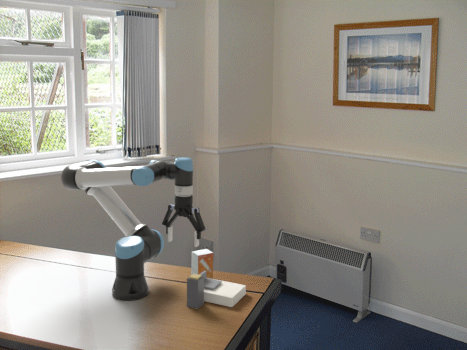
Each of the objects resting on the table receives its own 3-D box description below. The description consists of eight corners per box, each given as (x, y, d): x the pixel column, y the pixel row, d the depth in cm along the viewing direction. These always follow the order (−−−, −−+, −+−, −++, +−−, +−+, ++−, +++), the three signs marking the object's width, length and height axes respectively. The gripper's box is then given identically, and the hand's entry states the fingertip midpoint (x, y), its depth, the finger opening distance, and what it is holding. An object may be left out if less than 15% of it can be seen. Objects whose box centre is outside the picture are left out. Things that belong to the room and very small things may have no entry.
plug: (186, 306, 213) (186, 277, 210) (192, 301, 217) (193, 272, 215) (197, 309, 211) (198, 279, 208) (203, 304, 215) (203, 274, 213)
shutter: (196, 286, 222) (196, 276, 221) (204, 279, 229) (204, 270, 228) (213, 289, 219) (213, 280, 218) (221, 282, 226) (221, 273, 225)
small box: (197, 283, 236) (198, 255, 233) (190, 278, 241) (191, 251, 238) (213, 279, 240) (213, 252, 238) (206, 275, 245) (206, 248, 243)
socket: (188, 297, 221) (188, 288, 220) (203, 285, 234) (203, 276, 233) (232, 307, 213) (232, 298, 212) (245, 294, 226) (245, 285, 225)
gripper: (153, 193, 223) (154, 241, 227) (205, 200, 213) (204, 251, 218) (163, 189, 230) (163, 236, 234) (213, 196, 220) (212, 245, 224)
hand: (183, 243), depth 226 cm, fingers open, 12 cm apart
